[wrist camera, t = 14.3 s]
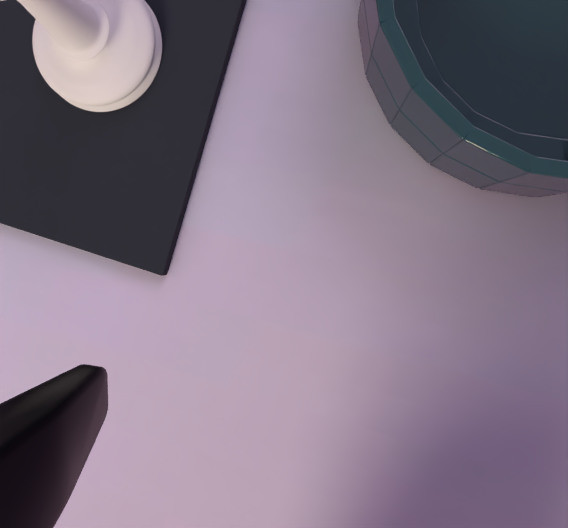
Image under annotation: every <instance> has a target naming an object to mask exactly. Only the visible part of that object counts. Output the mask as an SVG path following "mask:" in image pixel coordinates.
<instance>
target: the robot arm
mask: <svg viewBox="0 0 568 528" xmlns="http://www.w3.org/2000/svg"><path fill="white" fill-rule="evenodd" d="M107 410H108V381H107V372H106V370H105V369H104V368H103V367H99V366H92V365H85V364H83V365H79V366H77V367H75V368H73V369H71V370H69V371H67V372H65V373H62V374H60V375H58V376H56V377H54V378H52V379H50V380H48V381H46V382H44V383H42V384H40V385H38V386H36V387H34V388H32V389H30V390H28V391H26V392H24V393H21V394H19V395H17V396H15V397H13V398H11V399H9V400H7V401H5V402H3V403H1V404H0V528H53V527H54V525H55V524H56V522H57V520H58V518H59V517H60V515H61V513H62V511H63V509H64V507H65V506H66V504H67V502H68V500H69V498H70V496H71V494H72V491H73V489H74V487H75V485H76V483H77V480H78V478H79V476H80V474H81V471H82V469H83V467H84V465H85V462H86V460H87V458H88V456H89V454H90V451H91V449H92V447H93V445H94V442H95V440H96V438H97V436H98V433H99V431H100V429H101V427H102V424H103V422H104V420H105V417H106V414H107Z"/></svg>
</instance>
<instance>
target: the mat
mask: <svg viewBox="0 0 568 528" xmlns="http://www.w3.org/2000/svg"><path fill="white" fill-rule="evenodd" d="M145 1H146V3H147V4H148V5H149V6H150V8H151V9H152V11H153V13H154V14H155V16H156V19H157V21H158V24H159V27H160V31H161V36H162V56H161V61H160V65H159V69H158V71H157V74H156V76H155V78H154V80H153V82H152V83H151V85H150V86H149V87H148V89H147V90H146V91H145V92H144V93H143V94H142V95H141V96H140V97H139V98H138V99H137V100H135V101H134V102H132V103H131V104H129V105H127V106H125V107H123V108H120V109H117V110H114V111H108V112H93V111H88V110H84V109H81V108H78V107H76V106H74V105H72V104H70V103H69V102H67V101H66V100H65V99H63V98H62V97H61V96H60V95H59V94H58V93H56V92H55V91H54V90H53V89H52V88H51V87H50V86H49V85H48V83H47V82H46V81H45V79H44V78H43V76H42V75H41V73H40V71H39V69H38V67H37V64H36V61H35V57H34V53H33V45H32V36H33V28H34V23H35V20H36V19H35V18H34V17H33V16H32V15H31V14H30V13H29V12H28V11H27V10H26V9H25V8H24V6H23V5H22V4H21V3H19V2H18V1H17V0H4V1H0V223H2V224H5V225H8V226H11V227H14V228H17V229H20V230H24V231H27V232H30V233H33V234H36V235H39V236H42V237H45V238H48V239H51V240H54V241H57V242H60V243H64V244H67V245H70V246H73V247H76V248H79V249H82V250H85V251H88V252H91V253H94V254H97V255H100V256H103V257H107V258H110V259H113V260H116V261H119V262H122V263H125V264H128V265H131V266H134V267H137V268H140V269H143V270H146V271H150V272H153V273H156V274H159V275H166V274H167V272H168V268H169V265H170V261H171V258H172V255H173V251H174V248H175V244H176V241H177V237H178V234H179V230H180V227H181V223H182V220H183V217H184V213H185V210H186V206H187V203H188V199H189V196H190V192H191V189H192V185H193V182H194V179H195V175H196V172H197V168H198V165H199V161H200V158H201V154H202V151H203V147H204V144H205V141H206V137H207V134H208V130H209V127H210V123H211V120H212V116H213V113H214V109H215V106H216V103H217V99H218V96H219V92H220V89H221V85H222V82H223V78H224V75H225V71H226V68H227V65H228V61H229V58H230V54H231V51H232V47H233V44H234V40H235V37H236V33H237V30H238V27H239V23H240V20H241V16H242V13H243V9H244V6H245V2H246V0H145Z"/></svg>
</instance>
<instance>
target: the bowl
mask: <svg viewBox="0 0 568 528" xmlns="http://www.w3.org/2000/svg"><path fill="white" fill-rule="evenodd" d="M358 27H359V34H360V41H361V49H362V56H363V63H364V70H365V75H366V78H367V80H368V82H369V84H370V86H371V88H372V90H373V92H374V94H375V96H376V98H377V100H378V102H379V104H380V106H381V108H382V110H383V112H384V114H385V116H386V118H387V121H388V123H389V124H391V127H392V128H393V129H394V130H395V131H396V132H397V133H398V134H399V135H400V136H401V137H402V138H403V139H404V140H405V141H406V142H407V143H408V144H409V145H410V146H411V147H412V148H413V149H414V150H415V151H416V152H417V153H418V154H419V155H420V156H421V157H422V158H423V159H424V160H425V161H426V162H428V163H430V165H432V166H434V167H436V168H438V169H440V170H442V171H444V172H446V173H448V174H450V175H452V176H454V177H456V178H458V179H460V180H462V181H464V182H466V183H468V184H470V185H472V186H474V187H476V188H480V189H482V190H489V191H496V192H502V193H509V194H515V195H522V196H529V197H542V196H548V195H555V194H561V193H568V0H361V2H360V8H359V14H358Z"/></svg>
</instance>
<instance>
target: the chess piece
mask: <svg viewBox="0 0 568 528" xmlns="http://www.w3.org/2000/svg"><path fill="white" fill-rule="evenodd" d="M0 1H4V0H0ZM17 1H18V2H19V3H21V4H22V5H23V6H24V8H25V9H26V10H27V11H28V12H29V13H30V14H31V15H32V16H33V17H34V18H35V19H36V20H35V23H34V28H33V36H32V45H33V53H34V57H35V61H36V64H37V67H38V69H39V71H40V73H41V75H42V76H43V78H44V79H45V81H46V82H47V83H48V85H49V86H50V87H51V88H52V89H53V90H54V91H55V92H56V93H58V94H59V95H60V96H61V97H62V98H63V99H65V100H66V101H67V102H69V103H70V104H72V105H74V106H76V107H78V108H81V109H84V110H88V111H93V112H108V111H114V110H117V109H120V108H123V107H125V106H127V105H129V104H131V103H132V102H134V101H135V100H137V99H138V98H139V97H140V96H141V95H142V94H143V93H144V92H145V91H146V90H147V89H148V87H149V86H150V85H151V83H152V82H153V80H154V78H155V76H156V74H157V71H158V69H159V65H160V61H161V56H162V36H161V31H160V27H159V24H158V21H157V19H156V16H155V14H154V13H153V11H152V9H151V8H150V6H149V5H148V4H147V3H146V1H145V0H17Z"/></svg>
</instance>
